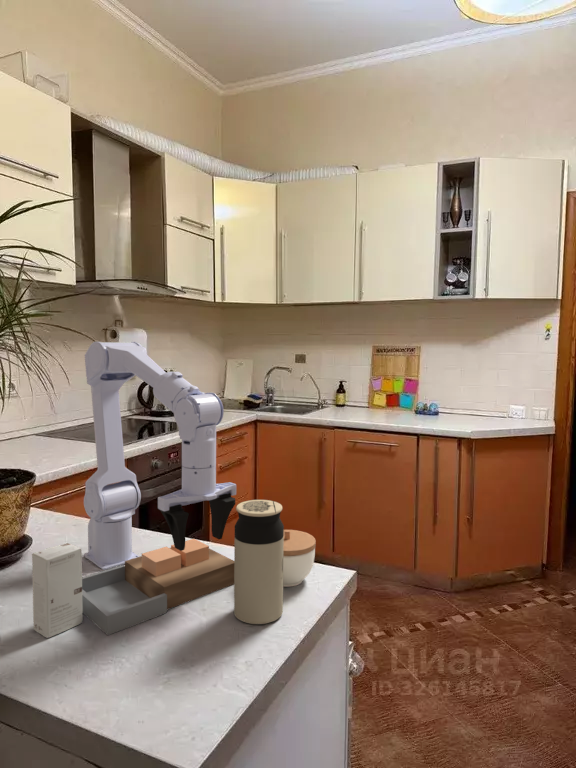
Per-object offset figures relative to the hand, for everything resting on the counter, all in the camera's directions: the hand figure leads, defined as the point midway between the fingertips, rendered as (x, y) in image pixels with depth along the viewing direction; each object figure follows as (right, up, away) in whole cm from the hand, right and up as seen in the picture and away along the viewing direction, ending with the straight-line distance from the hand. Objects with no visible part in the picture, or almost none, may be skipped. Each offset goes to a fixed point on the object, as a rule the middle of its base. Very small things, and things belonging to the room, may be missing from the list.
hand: (198, 542), depth 92 cm
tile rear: (-3, -5, +8) cm, 10 cm away
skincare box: (-20, -11, -8) cm, 25 cm away
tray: (-14, -10, -2) cm, 17 cm away
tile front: (-7, -6, +4) cm, 10 cm away
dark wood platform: (-4, -9, +7) cm, 12 cm away
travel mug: (+10, -11, -4) cm, 15 cm away
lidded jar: (+15, -10, +9) cm, 20 cm away
